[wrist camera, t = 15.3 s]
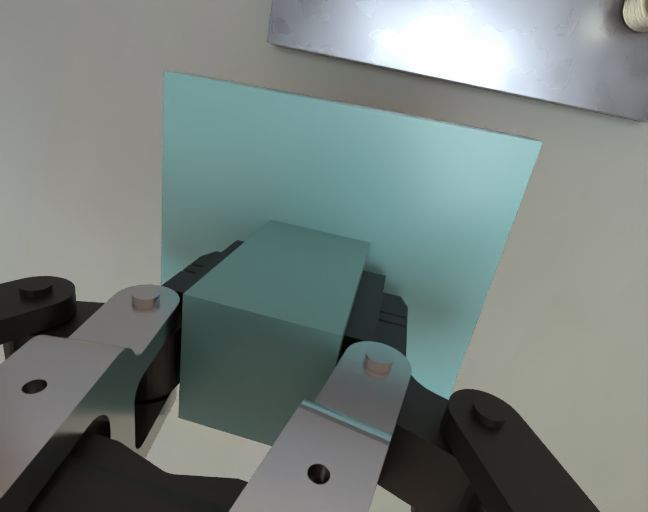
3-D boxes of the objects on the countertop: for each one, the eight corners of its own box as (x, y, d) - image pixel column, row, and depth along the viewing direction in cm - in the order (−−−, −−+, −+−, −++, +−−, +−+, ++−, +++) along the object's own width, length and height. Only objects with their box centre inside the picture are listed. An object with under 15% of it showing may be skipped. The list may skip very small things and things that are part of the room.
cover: (181, 343, 16) (48, 483, 10) (191, 73, 13) (-11, 51, 7) (430, 412, 15) (441, 615, 9) (527, 136, 11) (652, 179, 5)
